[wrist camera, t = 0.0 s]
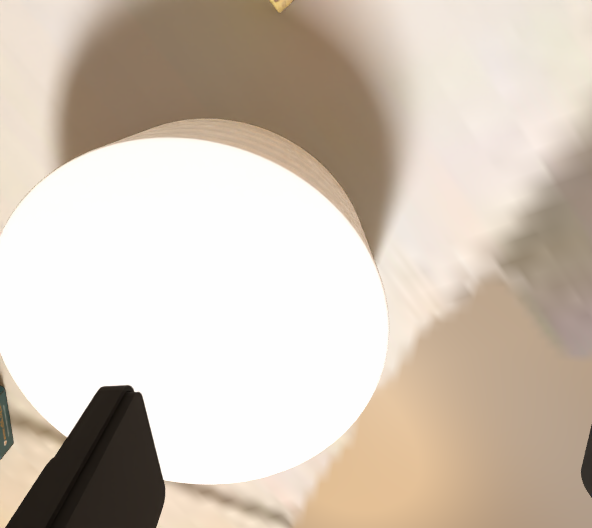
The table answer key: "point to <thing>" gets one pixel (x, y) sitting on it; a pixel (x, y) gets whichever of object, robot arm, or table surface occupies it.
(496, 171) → the table surface
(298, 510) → the table surface
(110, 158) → the plate stack
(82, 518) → the robot arm
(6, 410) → the donation box
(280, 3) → the candy box
